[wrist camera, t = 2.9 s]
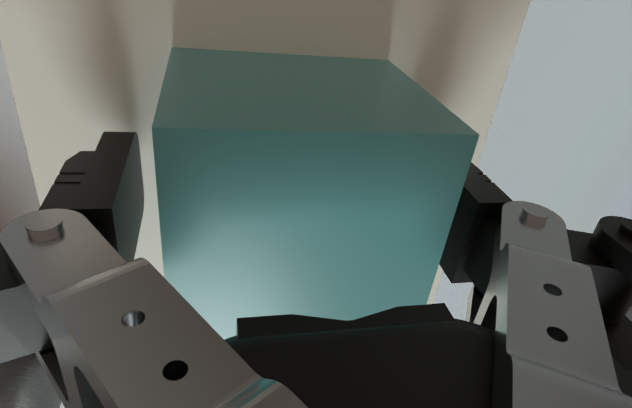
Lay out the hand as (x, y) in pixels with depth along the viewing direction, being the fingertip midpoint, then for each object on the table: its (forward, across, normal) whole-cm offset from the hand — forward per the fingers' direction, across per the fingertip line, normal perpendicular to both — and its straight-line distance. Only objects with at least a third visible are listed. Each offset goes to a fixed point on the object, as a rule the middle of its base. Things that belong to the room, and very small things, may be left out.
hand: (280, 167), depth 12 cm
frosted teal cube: (+1, 0, 0) cm, 1 cm away
